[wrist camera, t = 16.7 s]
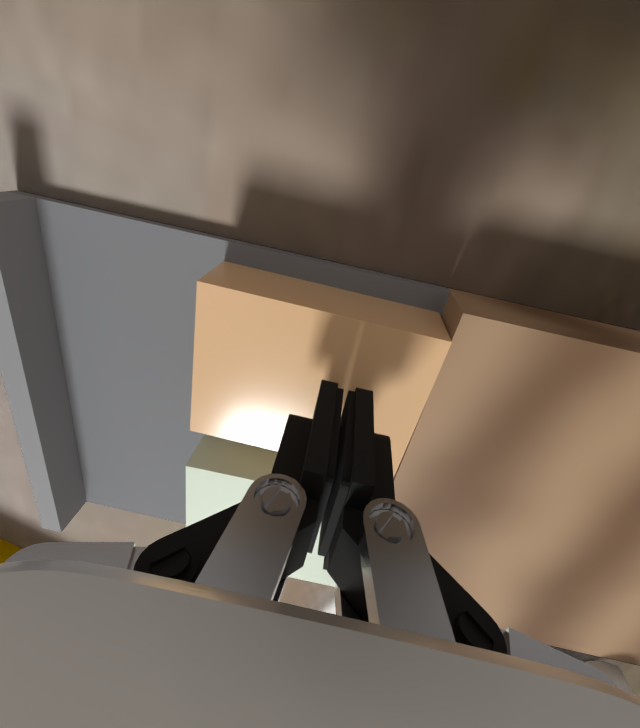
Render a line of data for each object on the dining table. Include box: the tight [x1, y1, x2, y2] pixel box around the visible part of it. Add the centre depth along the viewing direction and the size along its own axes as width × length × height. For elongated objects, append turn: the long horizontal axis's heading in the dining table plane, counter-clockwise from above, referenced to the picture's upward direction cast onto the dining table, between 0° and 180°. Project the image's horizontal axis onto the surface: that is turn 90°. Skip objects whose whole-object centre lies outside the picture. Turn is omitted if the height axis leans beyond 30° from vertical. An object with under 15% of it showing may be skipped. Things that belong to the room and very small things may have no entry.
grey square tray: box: [0, 190, 450, 532], centre depth 17 cm, size 16×16×2 cm
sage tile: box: [186, 434, 336, 587], centre depth 18 cm, size 8×6×2 cm
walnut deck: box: [394, 288, 640, 666], centre depth 17 cm, size 20×16×2 cm
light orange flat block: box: [190, 261, 452, 477], centre depth 14 cm, size 8×6×2 cm
